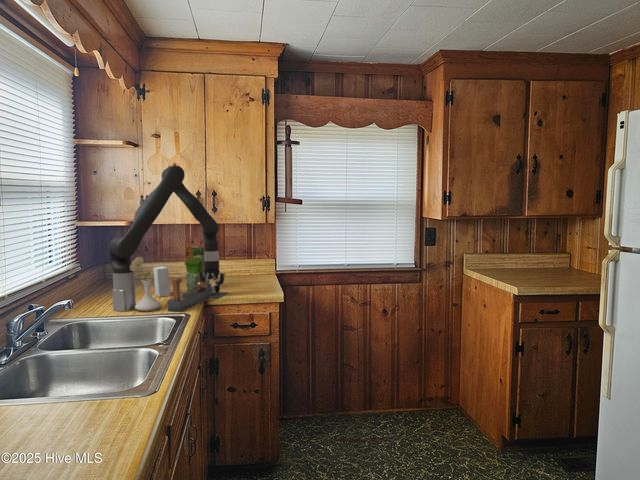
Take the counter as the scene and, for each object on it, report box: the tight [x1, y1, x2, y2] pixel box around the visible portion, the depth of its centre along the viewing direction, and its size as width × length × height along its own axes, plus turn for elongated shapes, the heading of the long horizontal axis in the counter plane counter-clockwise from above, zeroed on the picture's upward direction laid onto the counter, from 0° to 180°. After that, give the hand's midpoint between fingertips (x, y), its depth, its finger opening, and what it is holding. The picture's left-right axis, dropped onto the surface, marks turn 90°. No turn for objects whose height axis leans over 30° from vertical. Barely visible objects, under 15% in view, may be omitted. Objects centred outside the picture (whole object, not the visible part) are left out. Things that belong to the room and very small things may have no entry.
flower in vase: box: [130, 256, 162, 312], centre depth 217 cm, size 13×11×25 cm
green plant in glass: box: [184, 244, 206, 291], centre depth 261 cm, size 11×12×25 cm
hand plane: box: [167, 277, 210, 313], centre depth 227 cm, size 26×6×14 cm, turn 164°
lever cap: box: [204, 282, 222, 293], centre depth 247 cm, size 10×5×4 cm, turn 164°
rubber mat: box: [209, 291, 229, 300], centre depth 247 cm, size 12×12×1 cm
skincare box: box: [152, 265, 171, 298], centre depth 248 cm, size 8×6×15 cm
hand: (212, 291), depth 247 cm, fingers closed on lever cap, 5 cm apart
